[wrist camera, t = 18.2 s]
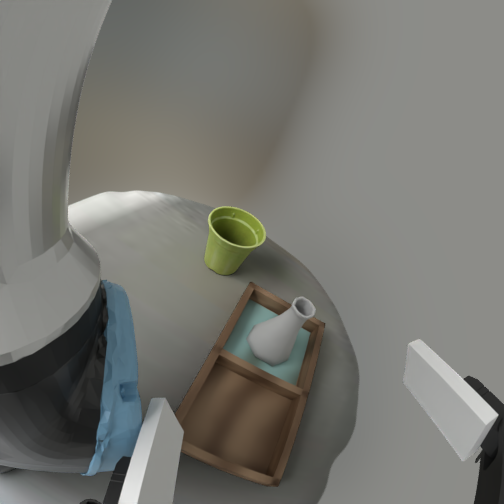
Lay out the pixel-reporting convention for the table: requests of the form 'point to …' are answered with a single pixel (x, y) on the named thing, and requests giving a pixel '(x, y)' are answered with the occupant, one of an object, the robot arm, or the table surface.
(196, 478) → the table surface
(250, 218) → the plant pot
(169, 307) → the table surface
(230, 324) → the walnut caddy
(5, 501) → the table surface
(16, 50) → the robot arm
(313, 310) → the flask
